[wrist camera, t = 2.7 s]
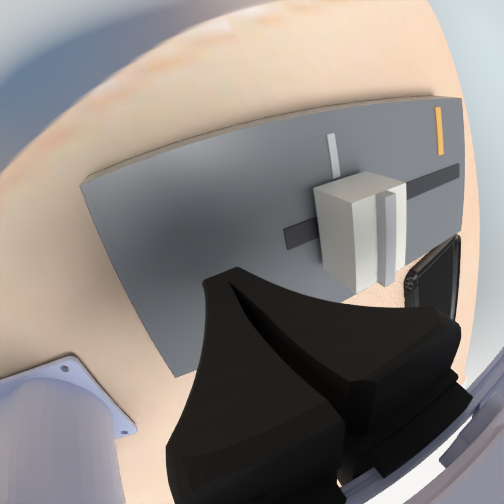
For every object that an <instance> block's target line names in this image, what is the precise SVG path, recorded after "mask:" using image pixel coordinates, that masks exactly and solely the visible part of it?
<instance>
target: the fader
mask: <svg viewBox="0 0 504 504" xmlns="http://www.w3.org/2000/svg"><path fill="white" fill-rule="evenodd" d="M313 191H314V197H315V204H316V211H317V219H318V226H319V234H320V242H321V250H322V259H323V268H324V269H325V270H326V271H327V272H329V273H330V274H331V275H333V276H334V277H335V278H337V279H338V280H339V281H340V282H342V283H343V284H344V285H346V286H347V287H348V288H349V289H351V290H352V291H353V292H355V293H356V294H357V293H359V292H361V291H362V290H364V289H366V288H368V287H370V286H371V285H373V284H375V283H377V282H378V283H379V284H381V285H382V286H384V287H386V286H388V285H390V284H391V283H393V282H395V272H396V271H397V270H399V269H401V268H402V267H404V266H405V252H406V183H405V182H402V181H399V180H395V179H392V178H389V177H385V176H382V175H378V174H375V173H371V172H368V171H364V172H361V173H358V174H355V175H352V176H348V177H345V178H342V179H339V180H336V181H333V182H330V183H327V184H324V185H321V186H318V187H315V188H313Z"/></svg>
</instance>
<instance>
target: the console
mask: <svg viewBox="0 0 504 504" xmlns="http://www.w3.org/2000/svg"><path fill="white" fill-rule="evenodd" d="M364 171H368V172H371V173H375V174H378V175H382V176H385V177H389V178H392V179H395V180H399V181H402V182H405V183H406V252H405V266H406V265H408V264H409V263H411V262H412V261H414V260H416V259H417V258H419V257H421V256H422V255H424V254H425V253H427V252H429V251H430V250H432V249H433V248H435V247H436V246H438V245H439V244H441V243H443V242H444V241H446V240H447V239H449V238H450V237H452V236H453V235H455V234H456V233H458V232H459V231H461V225H462V215H463V201H464V179H465V144H464V122H463V109H462V99H461V98H454V97H443V96H417V97H402V98H389V99H379V100H369V101H361V102H353V103H345V104H338V105H332V106H325V107H319V108H313V109H308V110H302V111H297V112H292V113H287V114H282V115H277V116H273V117H268V118H264V119H259V120H255V121H251V122H247V123H243V124H239V125H235V126H231V127H227V128H223V129H220V130H216V131H213V132H209V133H206V134H202V135H199V136H196V137H192V138H189V139H186V140H183V141H179V142H176V143H173V144H170V145H167V146H164V147H161V148H158V149H156V150H153V151H150V152H147V153H144V154H142V155H139V156H136V157H133V158H131V159H128V160H126V161H123V162H120V163H118V164H115V165H113V166H110V167H108V168H106V169H103V170H101V171H98V172H96V173H94V174H91V175H89V176H88V177H87V178H86V179H85V180H84V182H83V183H82V184H81V185H80V188H81V191H82V194H83V196H84V199H85V201H86V204H87V207H88V209H89V212H90V214H91V217H92V219H93V222H94V224H95V226H96V229H97V231H98V233H99V236H100V238H101V240H102V243H103V245H104V247H105V249H106V252H107V254H108V256H109V258H110V260H111V263H112V265H113V267H114V269H115V271H116V273H117V275H118V277H119V279H120V281H121V283H122V285H123V287H124V289H125V291H126V293H127V295H128V297H129V299H130V301H131V303H132V305H133V307H134V308H135V310H136V312H137V314H138V316H139V318H140V320H141V321H142V323H143V325H144V327H145V329H146V330H147V332H148V334H149V336H150V337H151V339H152V341H153V342H154V344H155V346H156V348H157V349H158V351H159V353H160V354H161V356H162V357H163V359H164V361H165V362H166V364H167V366H168V367H169V369H170V370H171V372H172V374H173V375H174V377H175V378H176V377H179V376H181V375H184V374H187V373H189V372H192V371H194V370H197V368H198V364H199V361H200V356H201V351H202V345H203V338H204V328H205V293H204V289H203V286H202V282H203V280H204V279H207V278H209V277H212V276H214V275H217V274H219V273H222V272H224V271H227V270H229V269H232V268H234V267H237V266H238V267H240V268H242V269H244V270H246V271H248V272H250V273H252V274H254V275H256V276H258V277H260V278H263V279H265V280H267V281H269V282H271V283H274V284H276V285H279V286H281V287H284V288H286V289H289V290H292V291H295V292H298V293H301V294H304V295H307V296H311V297H315V298H319V299H323V300H327V301H332V302H337V303H341V302H343V301H344V300H346V299H348V298H350V297H352V296H354V295H355V294H356V293H355V292H353V291H352V290H351V289H349V288H348V287H347V286H346V285H344V284H343V283H342V282H340V281H339V280H338V279H337V278H335V277H334V276H333V275H331V274H330V273H329V272H327V271H326V270H325V269H324V268H323V259H322V250H321V242H320V234H319V226H318V219H317V211H316V204H315V197H314V191H313V188H315V187H318V186H321V185H324V184H327V183H330V182H333V181H336V180H339V179H342V178H345V177H348V176H352V175H355V174H358V173H361V172H364ZM402 268H403V267H402ZM397 271H398V270H397ZM371 286H372V285H371ZM364 290H365V289H364ZM362 291H363V290H362Z"/></svg>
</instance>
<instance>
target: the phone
mask: <svg viewBox="0 0 504 504" xmlns="http://www.w3.org/2000/svg"><path fill="white" fill-rule="evenodd" d="M460 257H461V237H460V236H459V235H458V234H455V235H453V236H452V237H450V238H449V239H447V240H446V241H444V242H443V243H441V244H439V245H438V246H436V247H435V248H433V249H432V250H431V251H430V252H429V253H428V254H427V255H425V256H424V257H423V258H422V259H421V260H420V261H419V262H418V263H417V264H416V265H415V266H413V267H412V268H411V269H410V270H409V272H408V273H407V275H406V277H405V280H404V295H405V307H424V306H434V307H435V308H437V309H438V310H440V311H441V312H443V313H444V314H446V315H447V316H448V317H450V318H451V319H453V320H454V321H455V317H456V309H457V300H458V289H459V276H460Z"/></svg>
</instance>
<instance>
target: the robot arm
mask: <svg viewBox="0 0 504 504" xmlns="http://www.w3.org/2000/svg"><path fill="white" fill-rule="evenodd" d="M202 286H203V289H204V293H205V328H204V338H203V345H202V351H201V356H200V361H199V364H198V368H197V372H196V376H195V379H194V383H193V386H192V389H191V391H190V394H189V397H188V399H187V402H186V405H185V407H184V410H183V412H182V415H181V417H180V419H179V421H178V423H177V425H176V427H175V429H174V431H173V433H172V435H171V437H170V439H169V441H168V443H167V445H166V468H167V476H168V483H169V487H170V490H171V493H172V496H173V499H174V502H175V504H363V503H365V502H367V501H368V500H370V499H371V498H373V497H374V496H376V495H377V494H379V493H380V492H382V491H384V490H385V489H386V488H388V487H389V486H391V485H392V484H394V483H395V482H396V481H398V480H399V479H400V478H401V477H403V476H404V475H406V474H407V473H408V472H410V471H411V470H412V469H413V468H415V467H416V466H417V465H418V464H420V463H421V462H422V461H423V460H424V459H426V458H427V457H428V456H429V455H430V454H432V453H433V452H434V451H435V450H436V449H437V448H438V447H440V446H441V445H442V444H443V443H444V442H445V441H446V440H447V439H448V438H449V437H450V436H451V435H452V434H454V432H456V431H457V430H458V429H459V428H460V426H462V424H464V423H465V422H466V420H467V419H468V418H469V417H470V416H471V415H472V414H473V415H472V419H471V421H470V422H469V423H468V424H467V425H466V426H465V427H464V429H463V430H462V431H461V432H460V433H459V435H458V436H457V438H456V439H455V441H454V442H453V443H452V445H451V446H450V447H449V448H448V449H447V450H446V452H445V453H444V454H443V455H442V456H441V457H440V458H439V462H440V463H441V464H442V465H443V466H444V467H445V468H446V469H445V470H444V471H443V472H442V473H441V474H439V475H438V476H437V477H436V478H435V479H434V480H432V481H431V482H430V483H429V484H428V485H427V486H425V487H424V488H423V489H422V490H420V491H419V492H418V493H417V494H415V495H414V496H413V497H411V498H410V499H409V500H407V501H406V502H405V503H403V504H504V347H503V348H502V350H501V351H500V353H498V355H497V356H496V357H495V358H494V360H493V361H492V362H491V363H490V364H489V366H488V367H487V368H486V369H485V370H484V371H483V372H482V374H481V375H480V376H479V377H478V378H477V379H476V380H475V381H474V382H473V383H472V384H471V386H470V387H469V388H468V389H467V390H465V389H464V388H463V387H462V386H460V385H459V384H458V383H457V382H456V381H457V379H458V374H457V373H455V372H454V371H453V370H452V369H451V365H452V363H453V360H454V358H455V355H456V352H457V350H458V347H459V344H460V340H461V327H460V326H459V324H458V323H457V322H455V321H454V320H453V319H451V318H450V317H448V316H447V315H446V314H444V313H443V312H441V311H440V310H438V309H437V308H435V307H434V306H424V307H406V308H386V307H368V306H358V305H350V304H343V303H337V302H332V301H327V300H323V299H319V298H315V297H311V296H307V295H304V294H301V293H298V292H295V291H292V290H289V289H286V288H284V287H281V286H279V285H276V284H274V283H271V282H269V281H267V280H265V279H263V278H260V277H258V276H256V275H254V274H252V273H250V272H248V271H246V270H244V269H242V268H240V267H238V266H237V267H234V268H232V269H229V270H227V271H224V272H222V273H219V274H217V275H214V276H212V277H209V278H207V279H204V280H203V282H202ZM63 366H67V368H66V367H63ZM136 432H137V426H136V425H135V424H134V423H133V422H132V421H131V420H130V419H129V418H128V417H127V416H126V414H125V413H124V412H123V411H122V410H121V409H120V408H119V407H118V406H117V405H116V404H115V403H114V402H113V400H112V399H111V398H110V397H109V396H108V395H107V394H106V393H105V391H104V390H103V389H102V388H101V387H100V386H99V384H98V383H97V382H96V381H95V380H94V378H93V377H92V376H91V375H90V373H89V372H88V371H87V370H86V368H85V367H84V366H83V365H82V363H81V362H80V361H79V360H78V359H77V358H76V357H74V356H67V357H64V358H61V359H58V360H56V361H53V362H50V363H47V364H44V365H42V366H39V367H36V368H33V369H30V370H27V371H24V372H22V373H19V374H16V375H13V376H10V377H7V378H4V379H1V380H0V504H126V501H125V496H124V492H123V487H122V481H121V476H120V470H119V464H118V457H117V450H116V443H115V439H117V438H120V437H124V436H127V435H131V434H134V433H136ZM337 479H338V481H339V482H340V484H341V486H342V487H340V488H339V486H338V485H337Z"/></svg>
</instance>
